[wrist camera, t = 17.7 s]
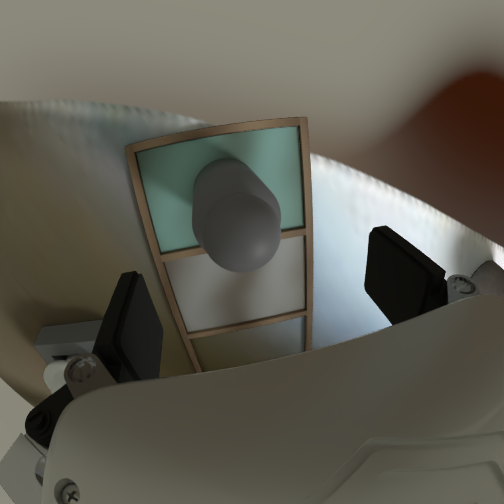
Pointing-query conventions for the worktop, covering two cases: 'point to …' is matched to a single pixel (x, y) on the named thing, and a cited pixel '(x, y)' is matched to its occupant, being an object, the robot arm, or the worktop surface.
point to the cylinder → (235, 216)
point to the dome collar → (66, 340)
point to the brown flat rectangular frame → (196, 258)
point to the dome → (56, 373)
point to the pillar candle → (490, 279)
